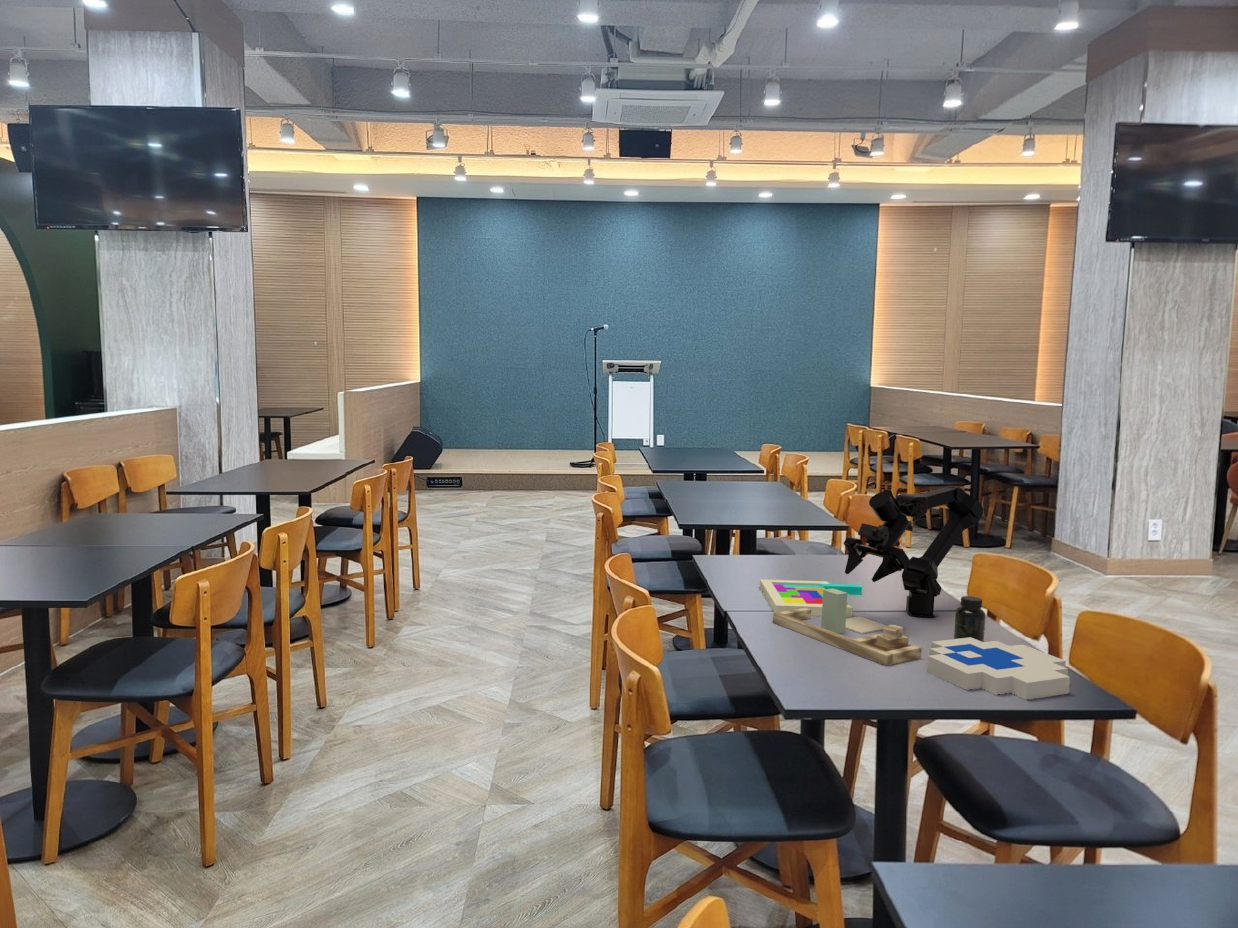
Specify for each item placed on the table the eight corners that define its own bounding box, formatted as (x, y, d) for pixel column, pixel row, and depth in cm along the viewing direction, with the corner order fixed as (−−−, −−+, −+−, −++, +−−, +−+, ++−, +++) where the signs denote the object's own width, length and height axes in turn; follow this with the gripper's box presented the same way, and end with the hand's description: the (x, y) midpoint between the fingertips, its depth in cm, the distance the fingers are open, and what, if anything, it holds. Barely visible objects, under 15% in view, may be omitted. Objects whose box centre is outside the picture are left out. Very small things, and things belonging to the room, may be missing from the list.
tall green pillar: (830, 627, 221) (832, 588, 220) (845, 632, 217) (847, 592, 216) (821, 629, 219) (823, 589, 218) (835, 634, 215) (837, 594, 214)
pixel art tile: (997, 687, 171) (903, 644, 197) (995, 706, 171) (902, 661, 197) (1097, 672, 181) (996, 634, 207) (1095, 690, 181) (995, 650, 207)
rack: (805, 616, 231) (806, 607, 230) (920, 657, 199) (921, 647, 198) (772, 622, 224) (773, 613, 224) (886, 665, 192) (886, 655, 192)
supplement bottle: (973, 641, 213) (976, 594, 212) (989, 649, 206) (992, 601, 205) (948, 641, 212) (951, 594, 210) (963, 650, 205) (966, 602, 204)
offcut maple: (890, 632, 204) (890, 624, 204) (902, 635, 202) (902, 627, 202) (882, 636, 201) (883, 628, 201) (894, 639, 199) (895, 631, 199)
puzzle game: (775, 616, 232) (884, 619, 232) (775, 605, 232) (885, 608, 231) (759, 588, 262) (856, 591, 262) (760, 579, 262) (857, 582, 261)
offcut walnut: (893, 649, 206) (893, 639, 206) (910, 655, 202) (910, 645, 201) (873, 653, 202) (874, 643, 202) (890, 659, 198) (891, 649, 198)
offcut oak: (896, 640, 205) (897, 632, 204) (908, 645, 201) (908, 637, 201) (876, 642, 202) (877, 634, 202) (887, 648, 199) (888, 639, 198)
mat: (858, 617, 231) (858, 616, 231) (890, 628, 222) (890, 626, 222) (829, 622, 225) (829, 621, 225) (861, 634, 216) (861, 632, 216)
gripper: (850, 507, 230) (818, 550, 226) (905, 518, 214) (873, 565, 210) (868, 533, 235) (838, 576, 230) (924, 546, 219) (892, 592, 215)
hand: (859, 577), depth 221 cm, fingers open, 9 cm apart
